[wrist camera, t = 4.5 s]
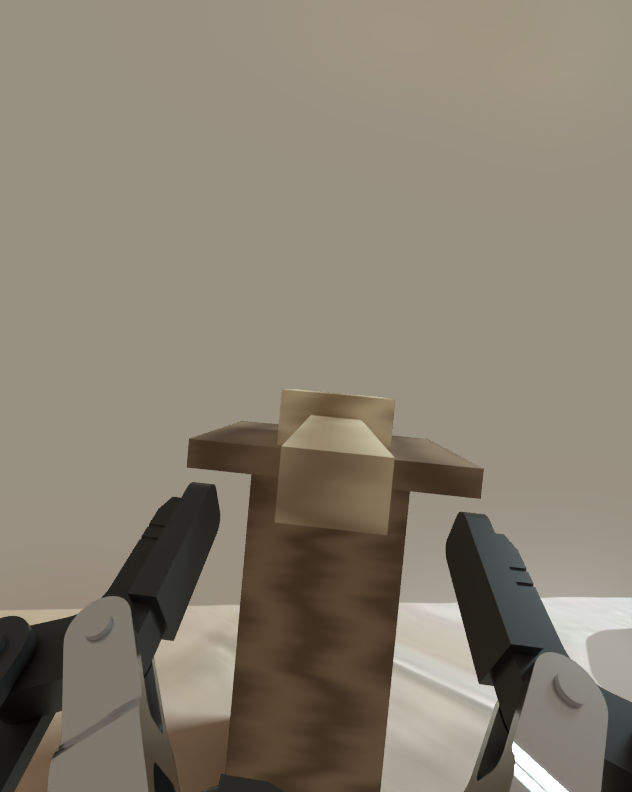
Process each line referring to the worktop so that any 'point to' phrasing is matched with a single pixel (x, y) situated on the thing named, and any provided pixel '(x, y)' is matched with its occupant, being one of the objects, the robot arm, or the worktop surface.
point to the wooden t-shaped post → (318, 619)
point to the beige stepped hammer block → (335, 461)
